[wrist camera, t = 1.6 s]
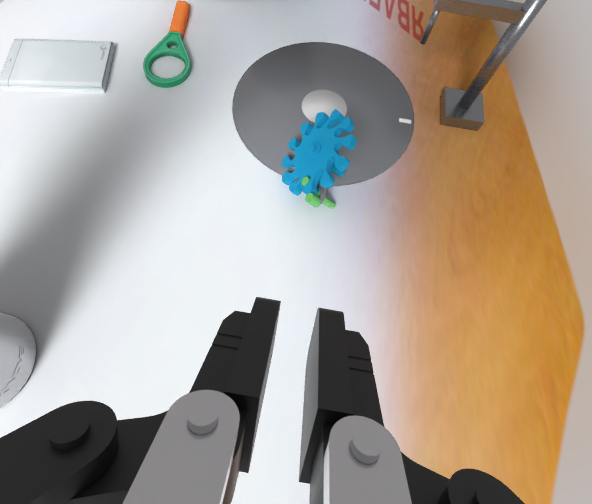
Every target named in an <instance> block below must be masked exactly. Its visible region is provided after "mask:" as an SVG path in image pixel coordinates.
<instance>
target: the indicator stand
mask: <svg viewBox="0 0 592 504" xmlns="http://www.w3.org/2000/svg"><path fill="white" fill-rule="evenodd" d="M546 1H547V0H526V1H525V3H517V2H512V1H506V0H434V11H433V13H432V16H431V18H430V20H429V23H428V25H427V27H426V29H425V32H424V34H423V36H422V39H421V41H420V43H421V44H425V43H426V41H427V39H428V36H429V34H430V32H431V30H432V28H433V25H434V23H435V21H436V19H437V16H438V14H439V12H440V11H444V12H449V13H455V14H461V15H467V16H473V17H479V18H484V19H490V20H496V21H502V22H508V23H511V24H510V26H509V27H508V29H507V30H506V32H505V33H504V35H503V36H502V38H501V39H500V41H499V42H498V44H497V45H496V47H495V48H494V50H493V51H492V53H491V54H490V56H489V57H488V59H487V60H486V62H485V63H484V65H483V66H482V68H481V69H480V71H479V72H478V74H477V75H476V77H475V78H474V80H473V81H472V83H471V84H470V86H469V87H468V89H467V90H466V91H465V90H459V89H454V88H448V87H445V89H444V91H443V92H442V94H441V96H440V124H441V125H447V126H453V127H458V128H464V129H470V130H476V131H478V129H479V128H480V127H481V126H482V125H483V123H484V113H483V95H482V93H481V91H482V90H483V89H484V87H485V86H486V84H487V83H488V82H489V80H490V79H491V77H492V76H493V75H494V73H495V72H496V71H497V69H498V68H499V66H500V65H501V64H502V62H503V61H504V59H505V58H506V57H507V55H508V54H509V52H510V51H511V49H512V48H513V47H514V46H515V44H516V43H517V41H518V40H519V38H520V37H521V36H522V34H523V33H524V32H525V30H526V29H527V27H528V26H529V25H530V23H531V22H532V21H533V19H534V18H535V16H536V15H537V14H538V12H539V11H540V9H541V8H542V6H543V5H544V4H545V2H546Z"/></svg>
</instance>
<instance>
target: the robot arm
mask: <svg viewBox="0 0 592 504" xmlns="http://www.w3.org/2000/svg"><path fill="white" fill-rule="evenodd" d="M280 303H281V301H277V300H271V299H266V298H260V297H256V299H255V302H254V305H253V308H252V311H251V313H245V312H240V311H234V312H233V313H232V314H230V315H229V316H228V317H227V318H225V319H224V320H223V322H222V324H221V326H220V328H219V330H218V332H217V335H216V337H215V339H214V341H213V343H212V346H211V348H210V350H209V352H208V354H207V356H206V358H205V361H204V363H203V365H202V367H201V369H200V371H199V373H198V376H197V378H196V380H195V382H194V384H193V386H192V389H191V390H190V392H189V393H188V394H186V395H184V396H183V397H181V398H179V399H178V400H177V401H176V402H175V403H174V404H173V405H172V406H171V407H170V409H169V410H168V411H166V412H164V413H161V414H158V415H155V416H149V417H142V418H134V419H126V420H117V419H116V415H115V413H114V412H113V410H112V409H111V408H110V407H109V406H107V405H105V404H103V403H100V402H96V401H80V402H74V403H70V404H67V405H64V406H61V407H59V408H57V409H55V410H53V411H51V412H49V413H47V414H45V415H43V416H41V417H39V418H38V419H36V420H34V421H32V422H30V423H28V424H26V425H24V426H22V427H20V428H19V429H17V430H15V431H13V432H11V433H9V434H7V435H5V436H3V437H1V438H0V504H230V503H231V501H232V498H233V495H234V490H235V486H236V482H237V477H238V473H239V471H241V472H246V473H248V472H249V467H250V462H251V457H252V452H253V447H254V442H255V437H256V432H257V427H258V422H259V417H260V412H261V407H262V402H263V398H264V393H265V388H266V383H267V378H268V373H269V368H270V363H271V357H272V352H273V346H274V340H275V334H276V328H277V322H278V316H279V310H280ZM35 357H36V344H35V339H34V336H33V334H32V331H31V330H30V329H29V327H28V326H27V325H26V324H25V323H24V322H23V321H21V320H20V319H19V318H16V317H14V316H11V315H8V314H4V313H0V408H1V407H2V406H4V405H5V404H7V403H8V402H9V401H10V400H11V399H12V398H13V397H14V396H15V395H17V394H18V392H19V391H20V390H21V388H22V387H23V386H24V385H25V383H26V382H27V380H28V378H29V376H30V374H31V372H32V369H33V366H34V363H35ZM299 482H303V483H309V484H310V504H524V503H523V502H522V501H521V500H520V499H519V498H518V497H517V496H516V495H515V494H514V493H513V492H512V491H511V490H510V489H509V488H508V487H507V486H506V485H504V484H503V483H502V482H501V481H499V480H498V479H496V478H495V477H493V476H491V475H489V474H487V473H485V472H482V471H479V470H475V469H461V470H459V471H457V472H455V473H454V474H453V475H452V477H451V478H450V479H448V478H446V477H444V476H441V475H439V474H437V473H435V472H433V471H431V470H429V469H427V468H425V467H423V466H421V465H419V464H417V463H416V462H414V461H412V460H411V459H409V458H408V457H406V456H405V455H404V454H403V453H402V452H401V451H400V448H399V446H398V444H397V442H396V440H395V439H394V437H393V436H392V435H391V433H390V432H389V431H388V430H387V429H386V428H385V427H384V424H383V419H382V414H381V409H380V404H379V398H378V393H377V388H376V383H375V378H374V375H373V367H372V362H371V357H370V352H369V347H368V344H367V343H366V342H365V340H364V339H363V337H362V336H361V335H360V333H359V332H355V331H349V330H345V322H344V313H343V312H340V311H335V310H329V309H323V308H318V310H317V314H316V318H315V323H314V328H313V332H312V337H311V341H310V346H309V351H308V357H307V364H306V375H305V391H304V407H303V424H302V440H301V456H300V472H299Z"/></svg>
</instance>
